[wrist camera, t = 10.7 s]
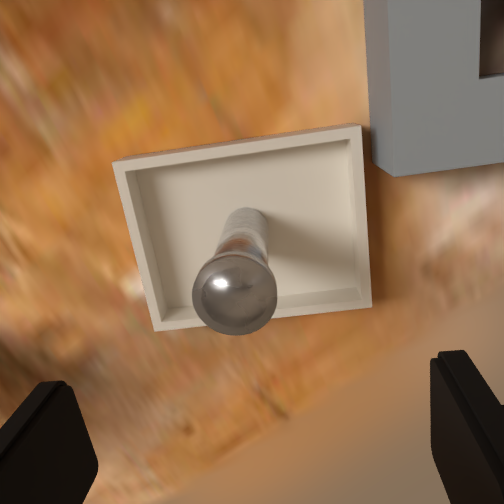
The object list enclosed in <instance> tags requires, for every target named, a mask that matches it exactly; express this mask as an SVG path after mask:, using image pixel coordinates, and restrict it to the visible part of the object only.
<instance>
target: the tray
mask: <svg viewBox="0 0 504 504" xmlns="http://www.w3.org/2000/svg"><path fill="white" fill-rule="evenodd" d="M112 166H113V170H114V173H115V177H116V181H117V185H118V189H119V193H120V197H121V201H122V205H123V209H124V213H125V217H126V221H127V225H128V229H129V233H130V237H131V241H132V245H133V248H134V252H135V256H136V260H137V264H138V268H139V272H140V276H141V280H142V284H143V288H144V292H145V296H146V300H147V304H148V308H149V312H150V316H151V319H152V323H153V327H154V331H163V330H172V329H181V328H190V327H199V326H207V325H206V324H205V323H204V322H203V321H202V320H201V319H200V318H199V316H198V315H197V313H196V311H195V309H194V306H193V302H192V288H193V285H194V282H195V279H196V277H197V275H198V272H199V270H200V269H201V267H202V266H203V265H204V264H205V263H206V262H207V261H208V260H209V259H211V258H212V257H214V254H215V251H216V248H217V245H218V242H219V239H220V237H221V234H222V231H223V228H224V225H225V222H226V220H227V218H228V216H229V215H230V214H231V213H232V212H233V211H235V210H236V209H239V208H243V207H250V208H254V209H256V210H258V211H260V212H261V213H262V214H263V215H264V216H265V218H266V220H267V222H268V227H269V242H268V267H269V268H270V269H271V271H272V273H273V274H274V277H275V279H276V284H277V306H276V309H275V312H274V314H273V316H272V317H271V318H280V317H289V316H298V315H307V314H316V313H325V312H334V311H343V310H353V309H362V308H371V307H372V295H371V279H370V262H369V246H368V230H367V213H366V197H365V181H364V164H363V148H362V131H361V125H358V124H355V123H348V124H341V125H335V126H328V127H321V128H314V129H308V130H301V131H294V132H288V133H281V134H274V135H267V136H261V137H254V138H247V139H241V140H234V141H227V142H220V143H214V144H207V145H200V146H193V147H187V148H180V149H173V150H167V151H160V152H153V153H146V154H140V155H133V156H126V157H123V158H121V159H119V160H116V161H114V162H112Z"/></svg>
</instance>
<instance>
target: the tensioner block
mask: <svg viewBox="0 0 504 504" xmlns="http://www.w3.org/2000/svg"><path fill="white" fill-rule="evenodd" d="M480 16H481V0H364V19H365V37H366V56H367V74H368V92H369V111H370V129H371V148H372V163H374V164H375V165H377V166H378V167H380V168H381V169H383V170H384V171H386V172H387V173H389V174H390V175H392V176H393V177H399V176H407V175H414V174H421V173H429V172H436V171H443V170H451V169H458V168H465V167H473V166H480V165H487V164H495V163H502V162H504V73H498V74H492V75H485V76H479V55H480Z"/></svg>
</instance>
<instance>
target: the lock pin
mask: <svg viewBox="0 0 504 504" xmlns="http://www.w3.org/2000/svg"><path fill="white" fill-rule="evenodd" d="M268 242H269V227H268V222H267V220H266V218H265V216H264V215H263V214H262V213H261V212H260V211H258V210H256V209H254V208H250V207H243V208H239V209H236V210H235V211H233V212H232V213H231V214H230V215H229V216H228V218H227V220H226V222H225V225H224V228H223V231H222V234H221V237H220V239H219V242H218V245H217V248H216V251H215V254H214V257H212V258H211V259H209V260H208V261H207V262H206V263H205V264H204V265H203V266H202V267H201V269H200V270H199V272H198V275H197V277H196V279H195V282H194V285H193V288H192V302H193V306H194V309H195V311H196V313H197V315H198V316H199V318H200V319H201V320H202V321H203V322H204V323H205V324H206V325H207V326H208V327H210V328H211V329H213V330H215V331H217V332H219V333H223V334H227V335H245V334H249V333H252V332H255V331H257V330H259V329H260V328H262V327H263V326H264V325H265V324H266V323H267V322H268V321H269V320H270V319H271V317H272V316H273V314H274V312H275V309H276V306H277V284H276V279H275V277H274V274H273V273H272V271H271V269H270V268H269V267H268Z"/></svg>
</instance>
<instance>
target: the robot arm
mask: <svg viewBox="0 0 504 504" xmlns="http://www.w3.org/2000/svg"><path fill="white" fill-rule="evenodd" d="M430 403H431V404H430V406H431V450H432V455H433V458H434V461H435V464H436V467H437V469H438V472H439V474H440V477H441V480H442V482H443V485H444V487H445V490H446V493H447V495H448V498H449V500H450V503H451V504H504V405H501V404H500V402H499V401H498V399H497V398H496V397H495V395H494V394H493V392H492V390H491V389H490V387H489V386H488V384H487V383H486V381H485V380H484V378H483V377H482V375H481V374H480V372H479V371H478V369H477V368H476V366H475V365H474V363H473V362H472V360H471V359H470V357H469V356H468V354H467V353H466V352H465V351H464V350H455V351H443V352H442V351H441V352H439V353H438V358H432V359H431V361H430ZM97 472H98V460H97V457H96V454H95V451H94V448H93V446H92V443H91V440H90V437H89V434H88V431H87V428H86V426H85V423H84V420H83V417H82V414H81V411H80V408H79V406H78V403H77V400H76V397H75V394H74V391H73V389H72V387H71V386H67V384H66V383H65V382H64V381H48V382H41V383H39V384H38V385H37V386H36V387H35V388H34V390H33V391H32V392H31V393H30V394H29V396H28V397H27V398H26V399H25V400H24V401H23V403H22V404H21V405H20V406H19V407H18V408H17V410H16V411H15V412H14V413H13V414H12V416H11V417H10V418H9V419H8V420H7V421H6V423H5V424H4V425H3V426H2V427H1V429H0V504H83V502H84V500H85V498H86V496H87V494H88V492H89V490H90V488H91V486H92V484H93V482H94V480H95V478H96V475H97Z"/></svg>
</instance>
